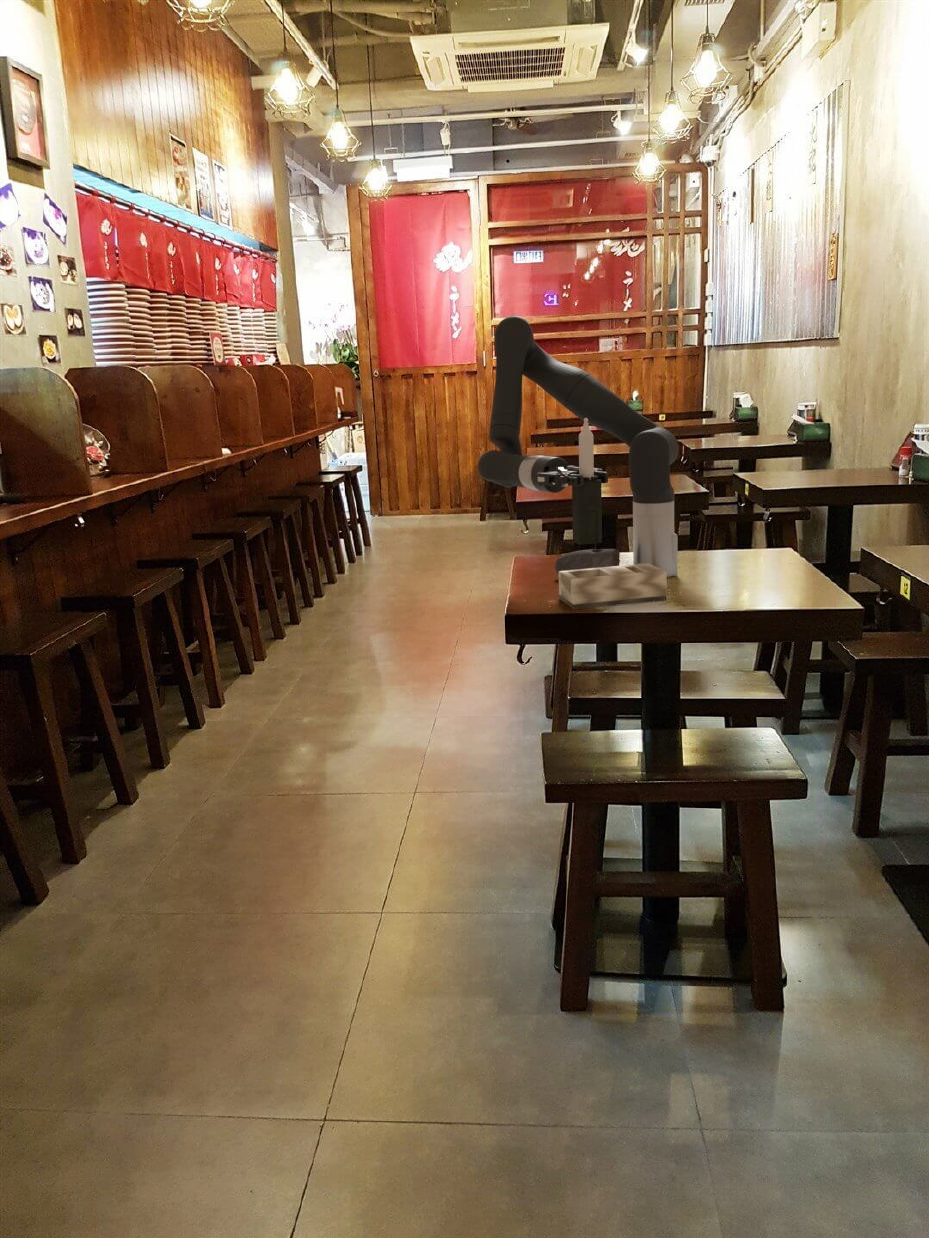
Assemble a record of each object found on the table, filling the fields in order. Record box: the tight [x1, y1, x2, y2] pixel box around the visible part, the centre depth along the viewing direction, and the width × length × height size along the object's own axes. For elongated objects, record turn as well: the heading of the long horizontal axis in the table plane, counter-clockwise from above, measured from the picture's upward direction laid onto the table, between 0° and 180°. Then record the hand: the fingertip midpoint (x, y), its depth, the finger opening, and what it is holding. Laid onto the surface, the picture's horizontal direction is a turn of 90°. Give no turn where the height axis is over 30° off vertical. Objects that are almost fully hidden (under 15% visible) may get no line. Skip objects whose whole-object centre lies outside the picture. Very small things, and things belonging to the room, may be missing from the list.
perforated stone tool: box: [554, 548, 621, 575], centre depth 223 cm, size 15×5×7 cm, turn 75°
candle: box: [571, 418, 603, 546], centre depth 195 cm, size 5×5×25 cm
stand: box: [558, 563, 668, 610], centre depth 201 cm, size 20×10×6 cm, turn 101°
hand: (594, 479), depth 193 cm, fingers closed on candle, 5 cm apart
